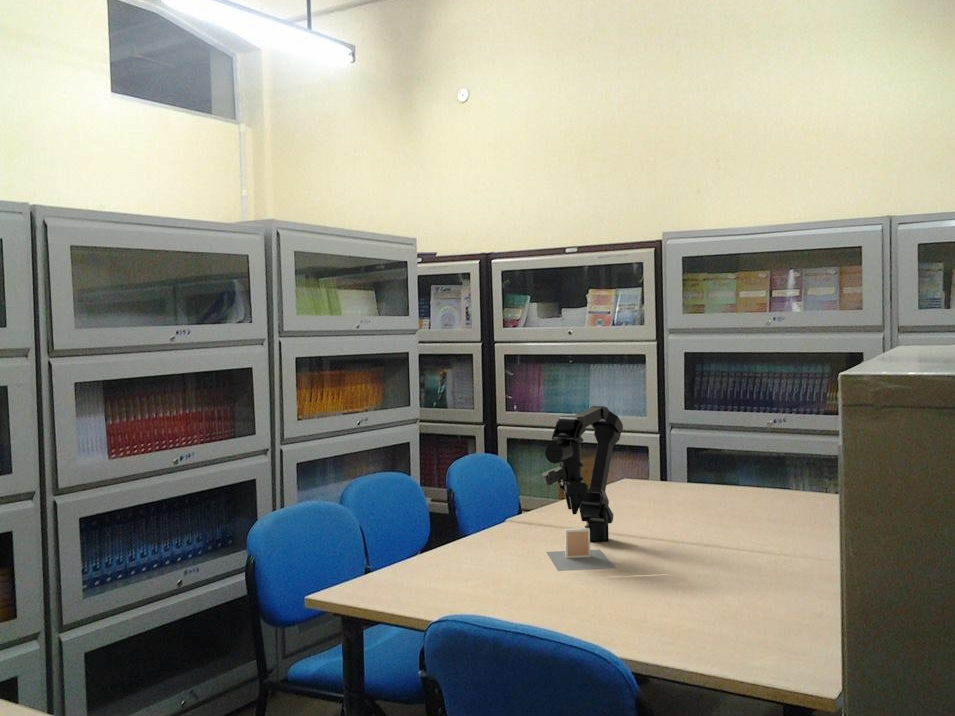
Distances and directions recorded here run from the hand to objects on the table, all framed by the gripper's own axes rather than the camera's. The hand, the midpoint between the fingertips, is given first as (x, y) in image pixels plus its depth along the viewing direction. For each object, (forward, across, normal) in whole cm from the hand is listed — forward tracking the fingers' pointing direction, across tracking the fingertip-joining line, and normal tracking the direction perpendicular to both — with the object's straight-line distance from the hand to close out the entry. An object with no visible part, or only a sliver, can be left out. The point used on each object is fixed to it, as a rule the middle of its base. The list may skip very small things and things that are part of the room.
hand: (572, 511), depth 253 cm
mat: (+12, +10, 0) cm, 15 cm away
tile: (+12, +7, 0) cm, 13 cm away
